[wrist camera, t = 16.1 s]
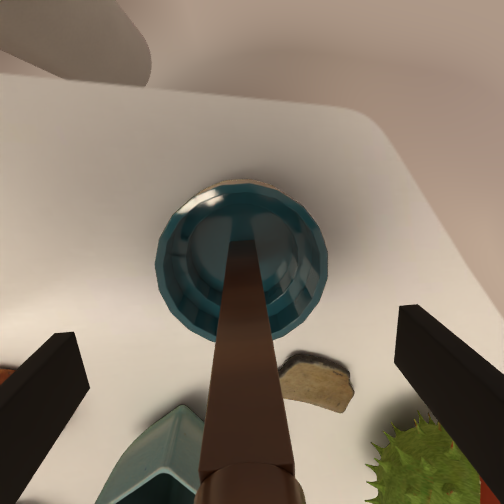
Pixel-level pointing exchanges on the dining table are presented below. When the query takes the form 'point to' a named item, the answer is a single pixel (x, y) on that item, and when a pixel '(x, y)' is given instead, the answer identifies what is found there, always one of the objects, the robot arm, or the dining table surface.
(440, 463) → the chestnut
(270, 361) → the stick
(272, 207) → the bowl
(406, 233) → the dining table surface
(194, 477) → the flower pot
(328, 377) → the ceramic shard
